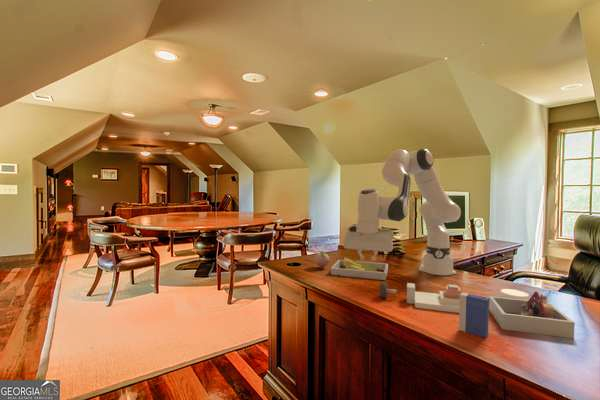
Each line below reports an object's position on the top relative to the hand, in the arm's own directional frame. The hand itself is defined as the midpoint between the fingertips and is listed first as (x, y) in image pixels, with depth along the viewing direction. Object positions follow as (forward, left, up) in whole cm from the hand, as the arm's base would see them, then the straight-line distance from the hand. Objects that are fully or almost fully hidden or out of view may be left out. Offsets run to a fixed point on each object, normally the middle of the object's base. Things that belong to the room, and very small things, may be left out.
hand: (367, 260), depth 132 cm
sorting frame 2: (+8, +55, -15) cm, 58 cm away
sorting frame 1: (-37, -8, -15) cm, 41 cm away
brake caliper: (+8, +58, -15) cm, 61 cm away
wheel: (0, +9, -15) cm, 17 cm away
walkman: (+23, +36, -15) cm, 45 cm away
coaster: (-16, +58, -16) cm, 62 cm away
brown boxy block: (0, +33, -13) cm, 36 cm away
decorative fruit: (-38, -30, -15) cm, 51 cm away
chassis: (0, +27, -15) cm, 31 cm away
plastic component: (-38, -8, -16) cm, 42 cm away
